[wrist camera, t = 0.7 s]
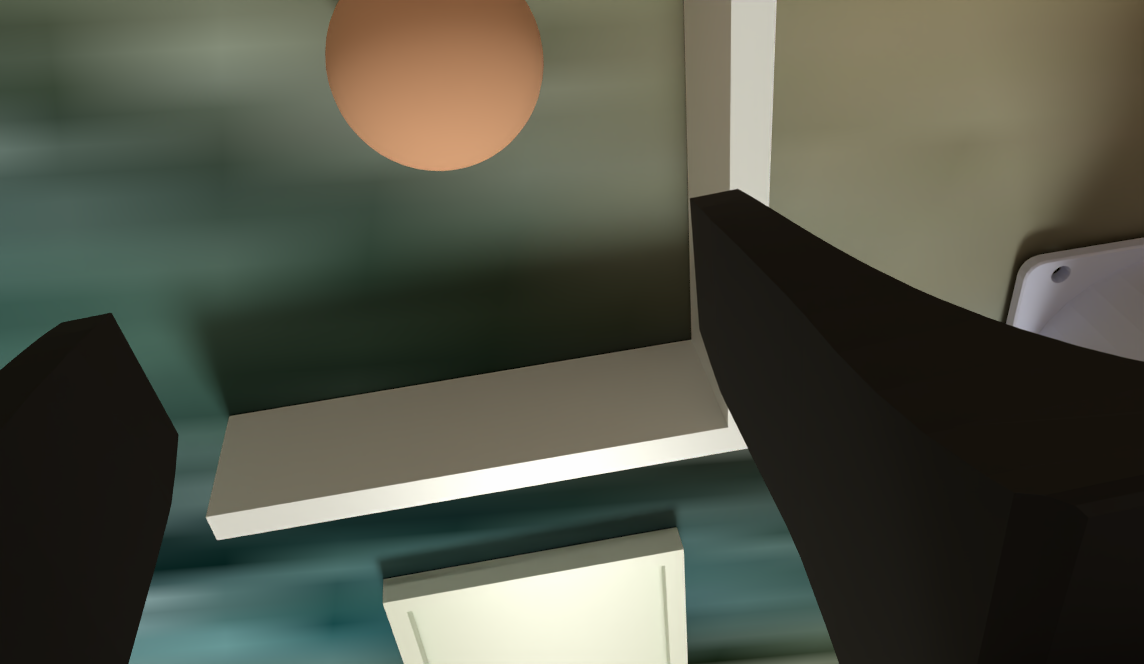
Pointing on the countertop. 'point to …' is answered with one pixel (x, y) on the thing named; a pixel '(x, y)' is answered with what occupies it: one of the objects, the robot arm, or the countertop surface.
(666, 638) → the tray
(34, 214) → the countertop surface
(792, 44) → the countertop surface
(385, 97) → the ball
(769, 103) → the acrylic walls
